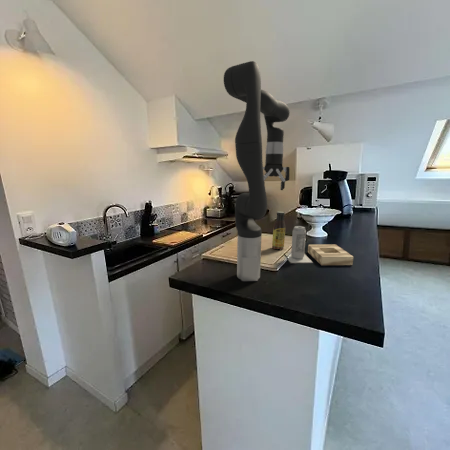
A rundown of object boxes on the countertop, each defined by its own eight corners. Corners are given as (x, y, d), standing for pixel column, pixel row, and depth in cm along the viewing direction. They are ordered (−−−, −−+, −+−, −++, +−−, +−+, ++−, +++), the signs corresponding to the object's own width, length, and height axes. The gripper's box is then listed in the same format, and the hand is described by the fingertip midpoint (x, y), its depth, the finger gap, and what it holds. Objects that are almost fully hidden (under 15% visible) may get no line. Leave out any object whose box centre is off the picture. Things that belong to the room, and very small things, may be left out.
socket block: (352, 265, 116) (353, 256, 115) (321, 265, 116) (322, 256, 115) (334, 251, 133) (335, 244, 133) (307, 252, 133) (308, 244, 132)
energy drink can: (300, 255, 127) (302, 225, 124) (306, 259, 122) (308, 228, 118) (289, 255, 126) (290, 225, 123) (293, 260, 121) (296, 228, 117)
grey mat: (312, 262, 118) (312, 262, 118) (290, 263, 118) (290, 262, 118) (303, 254, 130) (304, 253, 130) (284, 254, 130) (284, 253, 130)
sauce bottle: (275, 251, 135) (276, 213, 130) (269, 247, 141) (271, 211, 136) (286, 249, 136) (288, 212, 132) (280, 246, 142) (282, 210, 138)
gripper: (259, 152, 111) (258, 190, 114) (292, 153, 111) (290, 190, 115) (257, 153, 118) (255, 189, 122) (288, 153, 118) (285, 189, 122)
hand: (272, 190), depth 118 cm, fingers open, 8 cm apart
